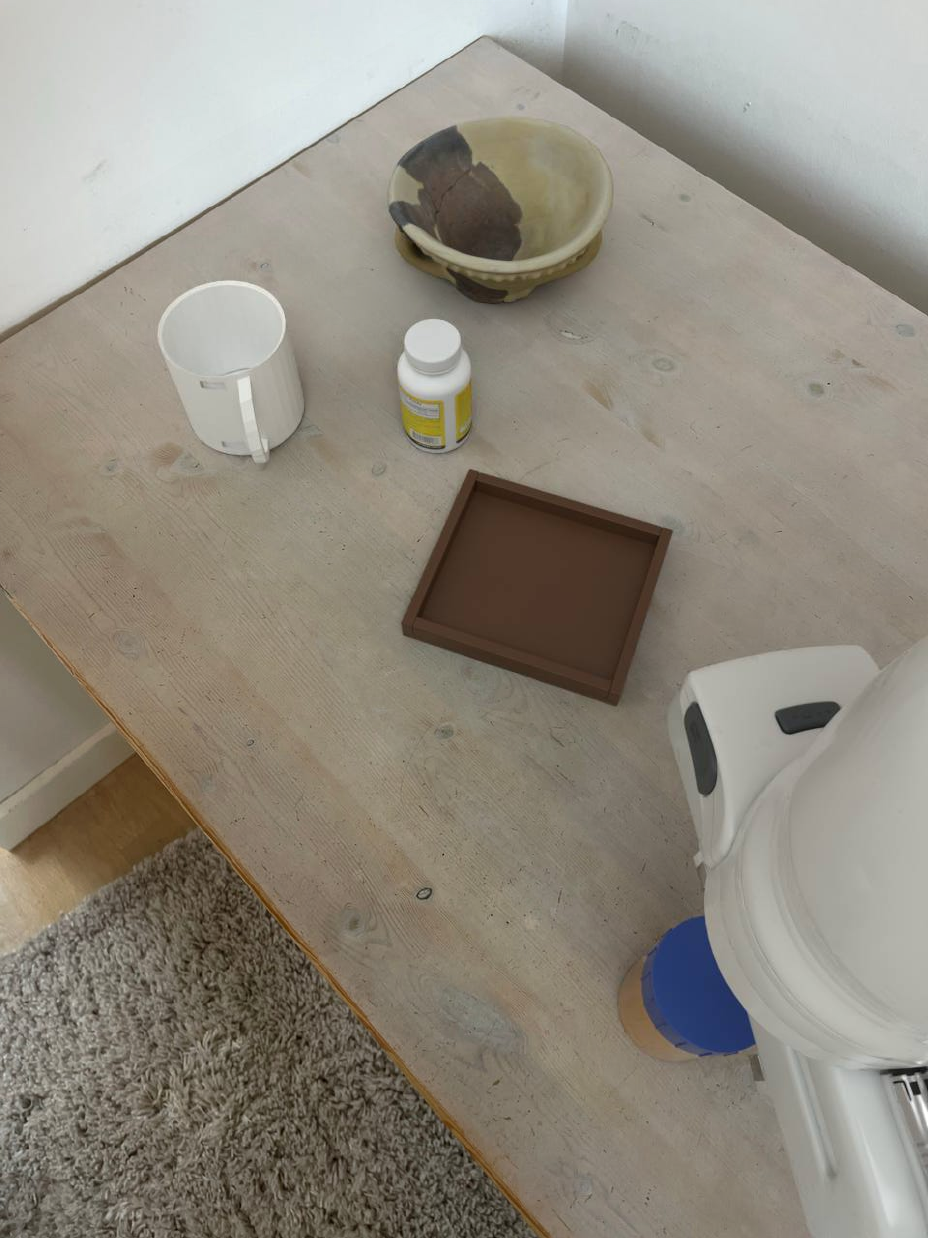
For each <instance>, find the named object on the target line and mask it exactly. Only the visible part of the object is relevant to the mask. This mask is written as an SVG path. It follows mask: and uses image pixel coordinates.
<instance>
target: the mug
mask: <svg viewBox="0 0 928 1238" xmlns="http://www.w3.org/2000/svg"><path fill="white" fill-rule="evenodd" d="M157 343H158V345H159V348H160V350H161V353H162V355H163V358H164V360H165V363H166V365H167V368H168V371H169V373H170V375H171V378H172V381H173V383H174V385H175V388H176V391H177V393H178V396H179V398H180V400H181V402H182V405H183V408H184V410H185V413H186V416H187V418H188V420H189V422H190V426H191V428H192V430H193V432H194V433H195V435H196V436H197V438H198V439H199V440H200V441H201V442H202V443H204V444H205V445H206V446H208V447H210V449H213V450H215V451H217V452H220V453H222V454H223V453H224V454H226V455H230V456H231V455H232V456H242V457H243V456H251V457H252V459H253V462H254V464H255V465H257V464H264V463H267V462H268V461H270V451H272V450H273V449H275V448H276V447H278V446H280V445H281V444H283V443H284V442H285V441H286V440H288V439H289V438H290V437H291V436H292V435H293V433H295V431H296V430H297V428H298V427H299V425H300V423H301V421H302V419H303V415H304V412H305V399H304V394H303V390H302V384H301V380H300V377H299V371H298V368H297V367H298V366H297V364H296V359H295V354H294V349H293V344H292V341H291V335H290V332H289V328H288V323H287V318H286V316H285V311H284V309H283V306H282V305H281V303H280V301H278V300H277V298H276V297H275V296H274V295H273V294H271V293H270V292H269V291H268V290H266V289H264V288H263V287H261V286H258V285H257V284H253V283H250V282H247V281H240V280H219V281H211V282H207V283H204V284H200V285H197V286H195V287H193V288H190V289H189V290H187V291H185V292H184V293H182V294H181V295H179V296H178V297H176V298H175V300H173V301H172V302H171V304H169V305H168V306H167V308H166V309H165V311H164V312H163V314H162V316H161V318H160V320H159V322H158V328H157Z"/></svg>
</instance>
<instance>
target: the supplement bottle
mask: <svg viewBox="0 0 928 1238" xmlns="http://www.w3.org/2000/svg"><path fill="white" fill-rule="evenodd" d="M396 372H397V380H398V381H397V382H398V393H399V401H400V402H399V403H400V408H401V409H400V410H401V418H402V425H403V426H402V427H403V431H404V434H405V437H406V438H407V440H408V441H409V442H410V443H411V444H412V445H413V446H414V447H415V448H417V449H418V450H421V451H423V452H426V453H429V454H444V453H448V452H451V451H453V450H456V449H458V448H459V447H460V446H461V445H463V444H464V443H465V442H466V441H467V440H468V438H469V436H470V434H471V431H472V426H473V409H472V407H473V406H472V404H473V403H472V397H473V396H472V364H471V360H470V358H469V355H468V354H467V353H466V351H465V350H464V348H463V347H462V338H461V334H460V332H459V330H458V329H457V328H456V327H455V325H454V324H452V323H450V322H449V321H446V320H443V319H440V318H439V319H438V318H429V319H422V320H420V321H418V322H416V323H414V324H413V325H412V326H411V327H409V329H408V330H407V332H406V333H405V335H404V351H403V352H402V354H401V355H400V357H399V359H398V362H397V371H396Z"/></svg>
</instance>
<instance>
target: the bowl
mask: <svg viewBox="0 0 928 1238" xmlns="http://www.w3.org/2000/svg"><path fill="white" fill-rule="evenodd" d="M387 185H388V186H387V191H386V193H387V195H386V197H387V199H386V200H387V206H388V212H389V214H390V216H391V218H392V220H393V221H394V223H395V224H396V227H395V231H394V244H395V247H396V250H397V252H398V254H399V255H400V257H401V258H402V259H403V260H404V261H405V262H407V263H408V264H410V265H411V266H413V267H414V268H416V269H418V270H419V271H420V272H424V273H426V274H428V275H429V276H433V277H437V278H441V279H444V280H447V281H450V282H451V283H452V285H454V286H455V287H456V289H457V291H459V292H460V293H461V294H462V295H464V296H465V297H467V298H468V299H470V300H473V301H476V302H481V303H488V304H489V303H490V304H498V303H500V302H504V303H512V302H516V301H517V300H519V299H524V298H526V297H528V296H529V294H530V293H531V292H533V291H534V290H535V288H536V287H538V286H541V285H543V284H545V283H548V282H551V281H556V280H559V279H562V278H565V277H568V276H570V275H572V274H573V275H574V274H575V273H577V272H579V271H581V270H583V269H585V268H586V267H587V266H589V265H590V264H591V263H592V262H593V261H594V260H595V259H596V257H597V256H598V254H599V252H600V250H601V247H602V243H603V233H602V229H603V227H604V226H605V225H606V222H607V221H608V218H609V216H610V214H611V211H612V206H613V204H614V203H613V202H614V194H615V193H614V192H615V191H614V189H615V188H614V186H615V185H614V179H613V174H612V172H611V169H610V167H609V165H608V163H607V161H606V159H605V157H604V156H603V154H602V152H601V151H600V149H599V148H598V147H597V146H596V145H595V144H594V143H593V142H592V141H591V140H589V139H588V138H587V137H585V135H583V134H581V133H579V132H578V131H576V130H575V129H573V128H571V127H570V126H567V125H564V124H562V123H558V122H554V121H550V120H547V119H543V118H535V117H528V116H527V117H526V116H518V115H517V116H515V115H514V116H513V115H509V116H493V117H487V118H479V119H472V120H467V121H463V122H459V123H457V124H454V125H451V126H449V127H447V128H444V129H440V130H439V131H437V132H435V133H433V134H432V135H430V136H427V138H425V139H423V140H421V141H419V142H418V143H416V144H415V145H414V146H413V147H412V148H410V149H409V150H407V151H406V152H405V153H404V154H403V156H402V157H401V158H400V159H399V161H398V162H397V163H396V166H395V167H394V169H393V171H392V174H391V176H390V178H389V182H388V184H387Z"/></svg>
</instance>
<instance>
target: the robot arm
mask: <svg viewBox="0 0 928 1238" xmlns="http://www.w3.org/2000/svg"><path fill="white" fill-rule="evenodd" d="M666 715H667V727H668V728H667V730H668V736H669V740H670V744H671V747H672V748H671V749H672V751H673V755H674V757H675V760H676V765H677V769H678V772H679V776H680V778H681V782H682V785H683V789H684V793H685V797H686V800H687V803H688V807H689V810H690V811H689V812H690V814H691V817H692V821H693V824H694V828H695V832H696V835H697V839H698V848H699V851H697V853H696V854H695V855H694V856H693V862H694V865H695V869H696V873H697V876H698V880H699V883H700V887H701V890H702V891H703V892H704V894H703V911H704V916H705V922H706V928H707V933H708V938H709V941H710V945H711V948H712V952H713V954H714V957H715V959H716V962H717V964H718V967H719V969H720V971H721V973H722V975H723V977H724V979H725V981H726V983H727V984H728V986H729V987H730V989H731V990H732V992H733V994H734V995H735V997H736V998H737V999H738V1001H739V1002H740V1003H741V1004H742V1006H743V1007H744V1008H745V1009H746V1011H747V1013H748V1017H749V1021H750V1024H751V1028H752V1031H753V1035H754V1038H755V1042H756V1044H755V1045H756V1049H757V1052H758V1053H756V1054H752V1055H748V1061H749V1063H750V1067H751V1071H752V1074H753V1075H752V1076H753V1079H754V1082H755V1086H756V1091H757V1094H758V1096H761V1095H762V1096H763V1095H768V1098H769V1099H770V1101H771V1103H772V1105H773V1110H774V1114H775V1117H776V1121H777V1123H778V1128H779V1131H780V1134H781V1138H782V1141H783V1144H784V1149H785V1152H786V1156H787V1159H788V1163H789V1166H790V1170H791V1173H792V1176H793V1181H794V1184H795V1188H796V1191H797V1195H798V1199H799V1202H800V1205H801V1209H802V1214H803V1217H804V1221H805V1224H806V1226H807V1229H808V1232H809V1234H810V1236H811V1238H928V634H926V635H925V636H923V637H922V638H920V639H919V640H918V641H917V642H915V643H914V644H912V645H911V646H910V647H909V648H907V649H906V650H904V651H903V652H902V653H901V654H899V655H898V656H897V657H896V658H894V659H893V660H892V661H890V662H889V663H888V664H887V665H885V666H884V668H882V669H881V668H880V667H879V666H878V663H876V661H875V659H874V658H873V657H872V655H871V654H870V653H869V651H868V650H866V649H865V648H864V647H863V646H860V645H859V644H837V645H836V644H834V645H817V646H806V647H797V648H789V649H780V650H773V651H767V652H761V653H757V654H751V655H747V656H742V657H738V658H733V659H728V660H725V661H721V662H717V663H713V664H710V665H707V666H703V667H700V668H696V669H693V670H690V671H689V672H688V673H686V675H685V677H684V679H683V681H682V683H681V684H680V685H679V687H678V688H677V690H676V691H675V693H674V694H673V696H672V698H671V700H670V703H669V705H668V708H667V714H666Z"/></svg>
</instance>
